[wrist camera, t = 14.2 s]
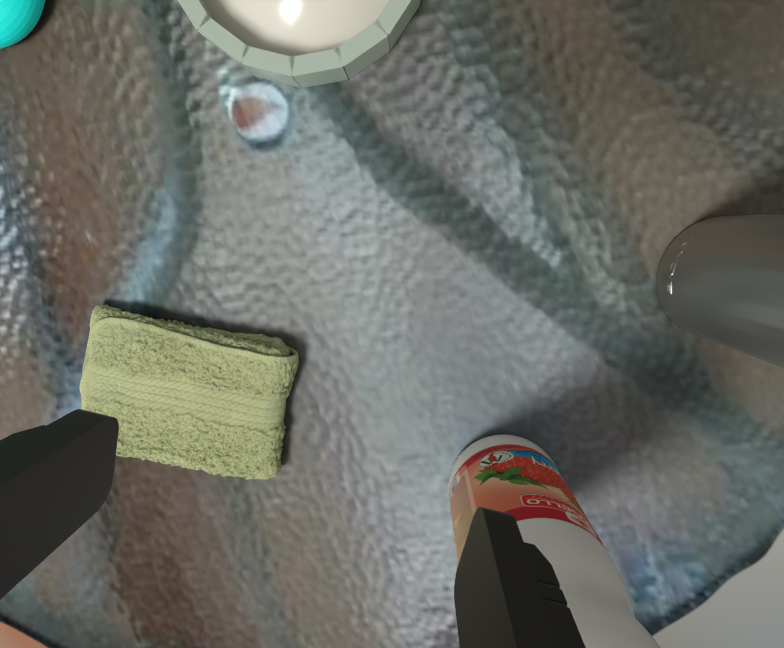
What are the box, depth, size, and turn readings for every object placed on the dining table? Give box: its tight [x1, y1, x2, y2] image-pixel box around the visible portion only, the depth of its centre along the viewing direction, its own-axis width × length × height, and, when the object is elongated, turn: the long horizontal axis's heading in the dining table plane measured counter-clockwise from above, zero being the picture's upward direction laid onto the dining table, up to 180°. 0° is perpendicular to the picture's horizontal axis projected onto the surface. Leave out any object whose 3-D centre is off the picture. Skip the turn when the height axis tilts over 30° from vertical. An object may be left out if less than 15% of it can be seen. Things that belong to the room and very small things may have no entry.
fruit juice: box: [448, 434, 661, 648], centre depth 27 cm, size 9×9×28 cm
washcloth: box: [80, 305, 299, 480], centre depth 39 cm, size 13×18×3 cm
